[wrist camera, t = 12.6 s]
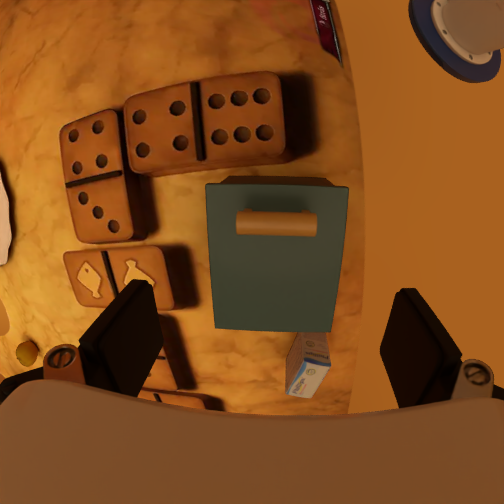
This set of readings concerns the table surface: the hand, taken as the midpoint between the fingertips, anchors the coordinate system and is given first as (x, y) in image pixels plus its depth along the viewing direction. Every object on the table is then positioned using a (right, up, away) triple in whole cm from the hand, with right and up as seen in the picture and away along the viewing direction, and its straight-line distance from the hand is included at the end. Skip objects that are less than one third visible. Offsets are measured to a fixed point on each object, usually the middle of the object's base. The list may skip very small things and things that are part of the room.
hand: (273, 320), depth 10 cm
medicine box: (+8, -13, +36) cm, 39 cm away
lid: (+1, +1, +17) cm, 17 cm away
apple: (-61, -23, +46) cm, 80 cm away
